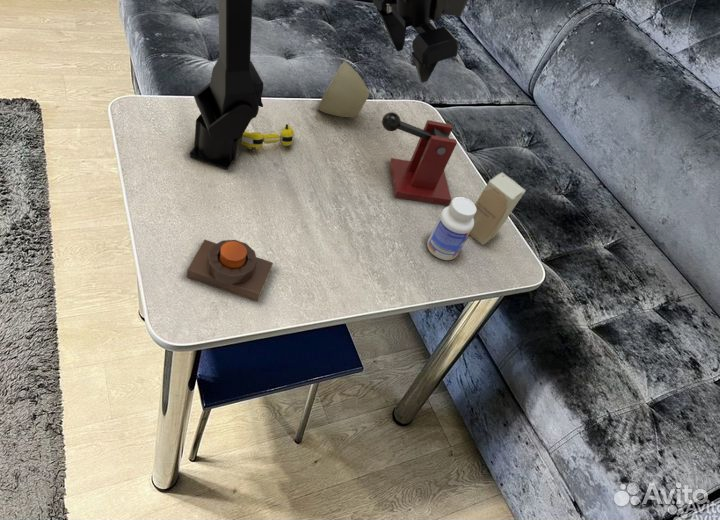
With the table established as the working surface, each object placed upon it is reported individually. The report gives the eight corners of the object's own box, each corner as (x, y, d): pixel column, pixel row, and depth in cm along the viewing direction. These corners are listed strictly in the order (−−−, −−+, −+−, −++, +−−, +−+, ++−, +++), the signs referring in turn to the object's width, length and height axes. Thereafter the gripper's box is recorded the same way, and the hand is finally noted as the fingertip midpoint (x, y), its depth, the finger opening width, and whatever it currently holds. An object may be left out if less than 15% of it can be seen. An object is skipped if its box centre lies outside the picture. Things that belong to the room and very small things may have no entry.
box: (460, 227, 100) (487, 179, 92) (473, 217, 103) (501, 170, 95) (484, 246, 99) (513, 199, 91) (497, 236, 101) (527, 189, 93)
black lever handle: (379, 131, 94) (388, 117, 92) (377, 120, 96) (386, 105, 94) (441, 155, 98) (451, 141, 96) (438, 143, 100) (448, 130, 98)
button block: (186, 278, 79) (187, 261, 76) (204, 246, 83) (205, 229, 80) (257, 302, 79) (261, 286, 77) (271, 269, 83) (275, 253, 81)
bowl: (343, 138, 112) (311, 118, 111) (362, 106, 117) (331, 87, 116) (364, 104, 103) (329, 82, 103) (382, 71, 109) (349, 50, 108)
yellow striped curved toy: (246, 156, 96) (246, 135, 95) (233, 144, 101) (232, 124, 99) (301, 150, 101) (302, 130, 99) (286, 139, 106) (287, 120, 104)
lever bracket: (394, 197, 101) (417, 143, 92) (389, 163, 107) (409, 109, 98) (448, 205, 103) (475, 153, 95) (440, 172, 109) (464, 120, 101)
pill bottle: (458, 264, 94) (483, 222, 87) (427, 257, 93) (449, 214, 86) (455, 239, 98) (479, 197, 91) (425, 233, 97) (446, 190, 90)
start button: (215, 263, 78) (216, 255, 76) (224, 246, 80) (226, 237, 79) (240, 272, 78) (241, 263, 76) (248, 254, 80) (250, 246, 79)
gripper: (497, -5, 84) (481, 84, 96) (435, -65, 93) (428, 23, 106) (427, 16, 81) (420, 104, 94) (371, -48, 91) (372, 40, 104)
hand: (411, 65), depth 100 cm, fingers open, 9 cm apart
